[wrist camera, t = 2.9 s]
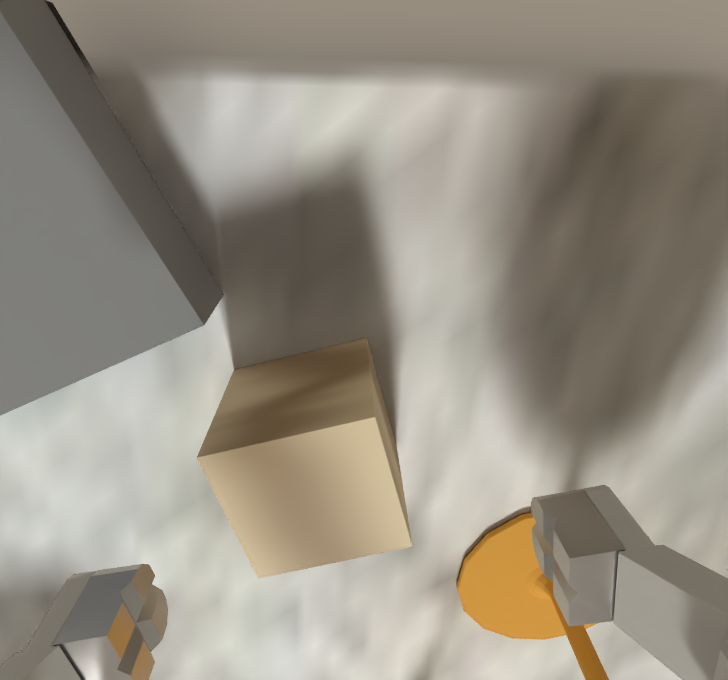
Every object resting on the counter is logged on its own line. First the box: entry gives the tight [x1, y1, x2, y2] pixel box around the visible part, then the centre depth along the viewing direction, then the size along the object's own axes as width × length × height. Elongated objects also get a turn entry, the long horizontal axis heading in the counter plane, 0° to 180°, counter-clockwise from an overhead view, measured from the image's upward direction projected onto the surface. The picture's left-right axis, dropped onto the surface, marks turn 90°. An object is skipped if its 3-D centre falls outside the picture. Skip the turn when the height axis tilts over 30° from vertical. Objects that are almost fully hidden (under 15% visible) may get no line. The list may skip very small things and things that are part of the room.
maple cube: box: [197, 338, 412, 578], centre depth 16 cm, size 5×5×5 cm
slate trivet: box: [0, 0, 224, 415], centre depth 14 cm, size 9×9×3 cm
